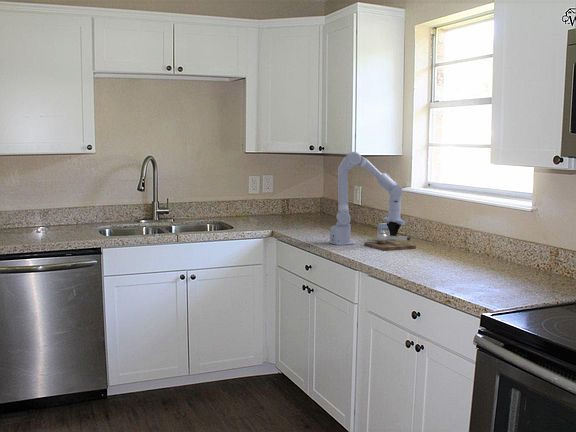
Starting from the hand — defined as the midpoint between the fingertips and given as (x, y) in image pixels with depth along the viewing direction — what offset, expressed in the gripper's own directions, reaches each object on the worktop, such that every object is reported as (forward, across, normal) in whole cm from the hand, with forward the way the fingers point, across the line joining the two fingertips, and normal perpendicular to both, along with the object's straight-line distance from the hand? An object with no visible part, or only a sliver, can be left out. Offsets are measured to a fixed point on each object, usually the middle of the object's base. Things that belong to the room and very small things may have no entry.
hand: (393, 238), depth 317 cm
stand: (+3, -4, +5) cm, 7 cm away
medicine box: (+4, +12, -5) cm, 14 cm away
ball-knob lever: (+2, -5, +4) cm, 7 cm away
